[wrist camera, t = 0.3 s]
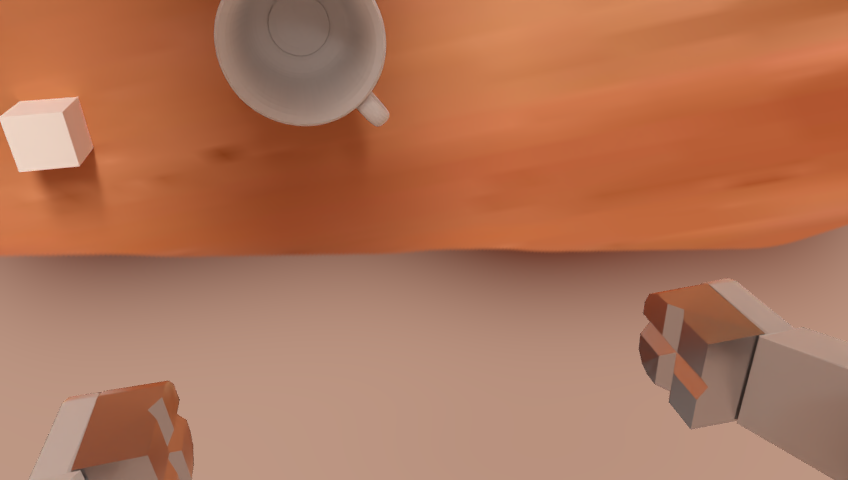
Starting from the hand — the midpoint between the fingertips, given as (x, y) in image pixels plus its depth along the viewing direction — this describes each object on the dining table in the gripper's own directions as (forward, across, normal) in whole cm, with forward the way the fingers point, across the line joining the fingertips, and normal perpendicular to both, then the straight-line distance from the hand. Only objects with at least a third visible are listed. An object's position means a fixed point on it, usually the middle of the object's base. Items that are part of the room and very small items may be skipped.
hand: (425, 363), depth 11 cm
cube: (+48, +22, +8) cm, 53 cm away
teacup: (+48, 0, +3) cm, 48 cm away
